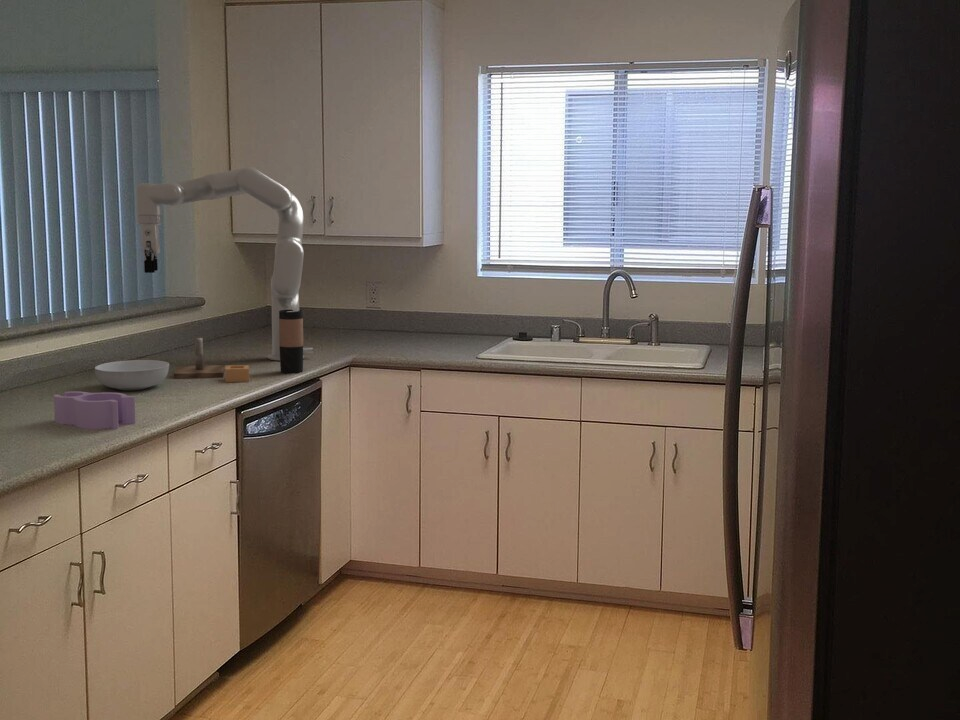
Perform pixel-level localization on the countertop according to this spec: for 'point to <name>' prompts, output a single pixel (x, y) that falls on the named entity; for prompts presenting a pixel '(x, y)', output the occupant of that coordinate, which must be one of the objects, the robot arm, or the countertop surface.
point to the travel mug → (291, 341)
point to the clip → (94, 409)
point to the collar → (237, 373)
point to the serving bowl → (132, 374)
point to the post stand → (199, 366)
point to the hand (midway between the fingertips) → (151, 271)
